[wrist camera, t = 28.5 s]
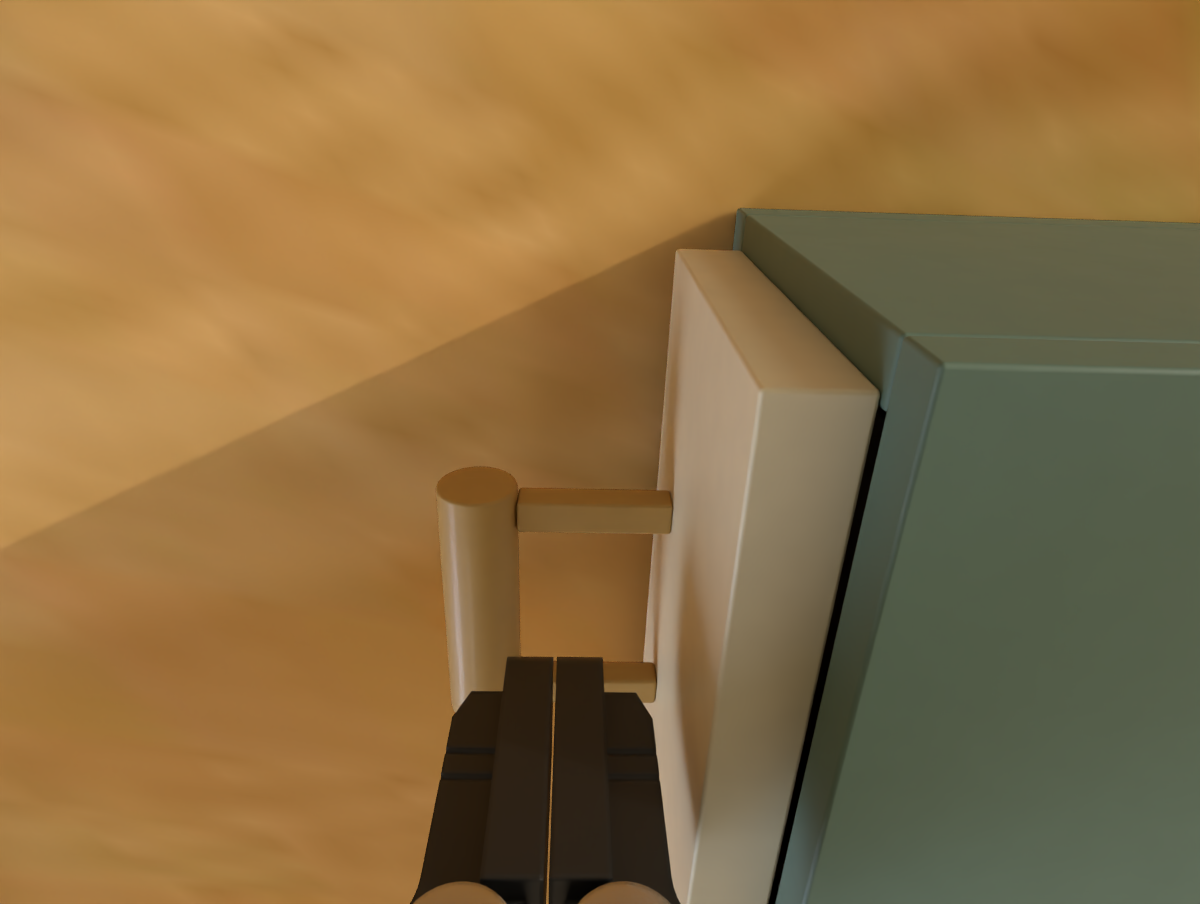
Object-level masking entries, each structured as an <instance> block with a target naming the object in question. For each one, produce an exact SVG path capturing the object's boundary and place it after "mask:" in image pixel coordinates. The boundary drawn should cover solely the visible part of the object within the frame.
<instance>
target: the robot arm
mask: <svg viewBox="0 0 1200 904" xmlns="http://www.w3.org/2000/svg"><path fill="white" fill-rule="evenodd" d="M552 715H553V657H509V656H508V657H507V661H506V669H505V677H504V685H503V691H471V692H470V694H469V695H468V696H467V698H466V699H465V700H464V702H463V703H462V705H461V706H460V707H459V709H458V710H457V712H456V713H455V714H454V716H453V717H452V722H451V727H450V732H449V737H448V742H447V747H446V754H445V757H444V762H443V767H442V772H441V780H440V782H439V787H438V792H437V797H436V802H435V807H434V812H433V818H432V823H431V828H430V833H429V838H428V843H427V848H426V853H425V858H424V863H423V868H422V873H421V878H420V881H419V885H418V888H417V891H416V893H415V895H414V897H413V899H412V901H411V903H410V904H546V889H547V863H548V837H549V811H550V785H551V758H552ZM549 904H681V903H680V902H679V900H678V898H677V895H676V892H675V890H674V886H673V881H672V876H671V868H670V859H669V851H668V843H667V834H666V826H665V818H664V809H663V801H662V793H661V784H660V781H659V767H658V759H657V755H656V742H655V734H654V726H653V718H652V717H651V715H650V714H649V712H648V711H647V709H646V707H645V706H644V704H643V703H642V701H641V700H640V698H639V696H638V695H637V693H634V692H604V673H603V658H602V657H557V670H556V698H555V727H554V755H553V784H552V812H551V841H550V869H549Z"/></svg>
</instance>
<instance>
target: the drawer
mask: <svg viewBox="0 0 1200 904" xmlns="http://www.w3.org/2000/svg"><path fill="white" fill-rule="evenodd" d="M879 399H880V392H879V390H878V389H877V388H876V387H875V386H874V385H873V384H872V383H871V382H870V381H869V380H868V379H867V378H866V377H865V376H864V375H863V374H862V373H861V372H860V371H859V370H858V369H857V368H856V367H855V366H854V365H853V364H852V363H851V362H850V361H849V360H848V358H847V357H846V356H845V355H844V354H843V353H842V352H841V351H840V350H839V349H838V348H837V347H836V346H835V345H834V344H833V343H832V342H831V341H830V340H829V339H828V338H827V337H826V336H825V335H824V334H823V333H822V332H821V331H820V330H819V329H818V328H817V327H816V326H815V325H814V324H813V323H812V322H811V321H810V320H809V319H808V318H807V317H806V316H805V315H804V314H803V313H802V312H801V311H800V310H799V309H798V308H797V307H796V306H795V305H794V304H793V303H792V302H791V301H790V300H789V299H788V298H787V297H786V296H785V295H784V294H783V293H782V292H781V291H780V290H779V289H778V288H777V287H776V286H775V285H774V284H773V283H772V282H771V281H770V280H769V279H768V278H767V277H766V276H765V275H764V274H763V273H762V272H761V271H760V270H759V268H758V267H757V266H756V265H755V264H754V263H753V262H752V261H751V260H750V259H749V258H748V257H747V256H746V255H745V254H744V253H743V252H741V251H735V250H702V249H678V250H677V251H676V256H675V268H674V281H673V293H672V306H671V319H670V331H669V344H668V356H667V369H666V381H665V394H664V407H663V419H662V432H661V444H660V457H659V469H658V482H657V490H617V489H562V488H520V489H519V493H518V485H517V482H516V480H515V478H514V477H513V476H512V475H511V474H509V473H508V472H505V471H503V470H500V469H497V468H491V467H469V468H463V469H459V470H456V471H453V472H451V473H448V474H447V475H445V476H444V477H442V478H441V479H440V480H439V482H438V484H437V486H436V500H437V514H438V527H439V541H440V554H441V568H442V582H443V595H444V609H445V622H446V636H447V649H448V663H449V676H450V690H451V703H452V707H453V710H454V711H455V713H456V712H457V710H458V709H459V707H460V706H461V705H462V703H463V702H464V700H465V699H466V698H467V696H468V695H469V694H470V692H471V691H503V685H504V677H505V669H506V661H507V657H508V656H509V657H521V654H520V595H519V537H518V531H519V532H559V533H621V534H653V545H652V557H651V570H650V583H649V595H648V608H647V620H646V633H645V645H644V658H643V662H603V673H604V692H634V693H637V695H638V696H639V698H640V700H641V701H642V703H643V704H644V706H645V707H646V709H647V711H648V712H649V714H650V715H651V717H652V718H653V726H654V734H655V742H656V755H657V759H658V767H659V781H660V784H661V793H662V801H663V809H664V818H665V826H666V834H667V843H668V851H669V859H670V868H671V876H672V881H673V886H674V890H675V892H676V895H677V898H678V900H679V902H680V903H681V904H768V903H769V899H770V894H771V890H772V885H773V880H774V876H775V877H776V881H777V885H778V889H779V885H780V881H781V877H782V872H783V868H784V863H785V859H786V855H787V850H788V846H789V841H790V837H791V832H792V828H793V824H794V819H795V815H796V810H797V806H798V802H799V797H800V793H801V788H802V784H803V780H804V775H805V771H806V766H807V762H808V757H809V753H810V749H811V744H812V740H813V735H814V731H815V727H816V722H817V718H818V713H819V709H820V705H821V700H822V696H823V691H824V687H825V683H826V678H827V674H828V669H829V665H830V660H831V656H832V652H833V647H834V643H835V638H836V634H837V630H838V625H839V621H840V616H841V612H842V608H843V603H844V599H845V594H846V590H847V585H848V581H849V577H850V572H851V568H852V563H853V559H854V555H855V550H856V546H857V541H858V537H859V533H860V528H861V524H862V519H863V515H864V511H865V506H866V502H867V497H868V493H869V488H870V484H871V480H872V475H873V471H874V466H875V462H876V458H877V453H878V449H879V444H880V440H881V436H882V431H883V427H884V422H885V418H886V413H887V411H885V410H883V409H882V408H881V407H880V406H879V405H878V403H879ZM556 670H557V661H553V702H555V698H556Z"/></svg>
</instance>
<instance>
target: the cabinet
mask: <svg viewBox="0 0 1200 904" xmlns="http://www.w3.org/2000/svg"><path fill="white" fill-rule="evenodd" d="M733 250H735V251H741V252H743V253H744V254H745V255H746V256H747V257H748V258H749V259H750V260H751V261H752V262H753V263H754V264H755V265H756V266H757V267H758V268H759V270H760V271H761V272H762V273H763V274H764V275H765V276H766V277H767V278H768V279H769V280H770V281H771V282H772V283H773V284H774V285H775V286H776V287H777V288H778V289H779V290H780V291H781V292H782V293H783V294H784V295H785V296H786V297H787V298H788V299H789V300H790V301H791V302H792V303H793V304H794V305H795V306H796V307H797V308H798V309H799V310H800V311H801V312H802V313H803V314H804V315H805V316H806V317H807V318H808V319H809V320H810V321H811V322H812V323H813V324H814V325H815V326H816V327H817V328H818V329H819V330H820V331H821V332H822V333H823V334H824V335H825V336H826V337H827V338H828V339H829V340H830V341H831V342H832V343H833V344H834V345H835V346H836V347H837V348H838V349H839V350H840V351H841V352H842V353H843V354H844V355H845V356H846V357H847V358H848V360H849V361H850V362H851V363H852V364H853V365H854V366H855V367H856V368H857V369H858V370H859V371H860V372H861V373H862V374H863V375H864V376H865V377H866V378H867V379H868V380H869V381H870V382H871V383H872V384H873V385H874V386H875V387H876V388H877V389H878V390H879V392H880V399H879V403H878V405H879V406H880V407H881V408H882V409H883V410H885V411H887V413H886V418H885V422H884V427H883V431H882V436H881V440H880V444H879V449H878V453H877V458H876V462H875V466H874V471H873V475H872V480H871V484H870V488H869V493H868V497H867V502H866V506H865V511H864V515H863V519H862V524H861V528H860V533H859V537H858V541H857V546H856V550H855V555H854V559H853V563H852V568H851V572H850V577H849V581H848V585H847V590H846V594H845V599H844V603H843V608H842V612H841V616H840V621H839V625H838V630H837V634H836V638H835V643H834V647H833V652H832V656H831V660H830V665H829V669H828V674H827V678H826V683H825V687H824V691H823V696H822V700H821V705H820V709H819V713H818V718H817V722H816V727H815V731H814V735H813V740H812V744H811V749H810V753H809V757H808V762H807V766H806V771H805V775H804V780H803V784H802V788H801V793H800V797H799V802H798V806H797V810H796V815H795V819H794V824H793V828H792V832H791V837H790V841H789V846H788V850H787V855H786V859H785V863H784V868H783V872H782V877H781V881H780V885H779V889H778V885H777V881H776V877H775V876H774V880H773V885H772V890H771V894H770V899H769V903H768V904H1200V223H1174V222H1144V221H1114V220H1084V219H1053V218H1023V217H993V216H963V215H933V214H902V213H872V212H842V211H812V210H781V209H751V208H740V209H738V210H737V215H736V224H735V233H734V242H733Z"/></svg>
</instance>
